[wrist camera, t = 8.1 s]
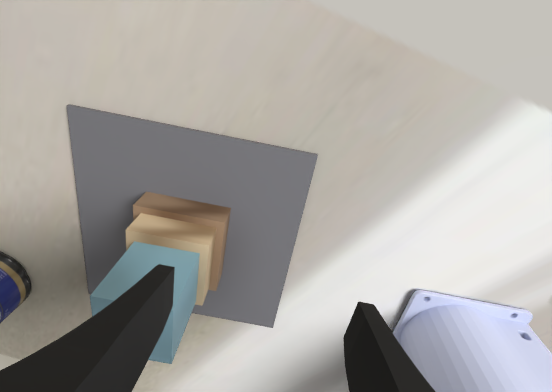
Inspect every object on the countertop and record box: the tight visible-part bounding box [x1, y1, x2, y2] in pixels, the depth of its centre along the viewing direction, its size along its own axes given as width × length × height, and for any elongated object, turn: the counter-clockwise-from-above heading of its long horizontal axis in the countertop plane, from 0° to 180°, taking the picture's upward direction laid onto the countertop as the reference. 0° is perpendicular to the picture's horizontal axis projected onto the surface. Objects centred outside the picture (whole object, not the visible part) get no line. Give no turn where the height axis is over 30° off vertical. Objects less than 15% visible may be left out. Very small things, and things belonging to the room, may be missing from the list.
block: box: [90, 241, 200, 364], centre depth 18 cm, size 4×4×4 cm
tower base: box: [133, 192, 231, 291], centre depth 22 cm, size 6×6×2 cm
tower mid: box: [126, 213, 217, 306], centre depth 21 cm, size 5×5×2 cm
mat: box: [67, 105, 318, 328], centre depth 23 cm, size 16×16×1 cm
